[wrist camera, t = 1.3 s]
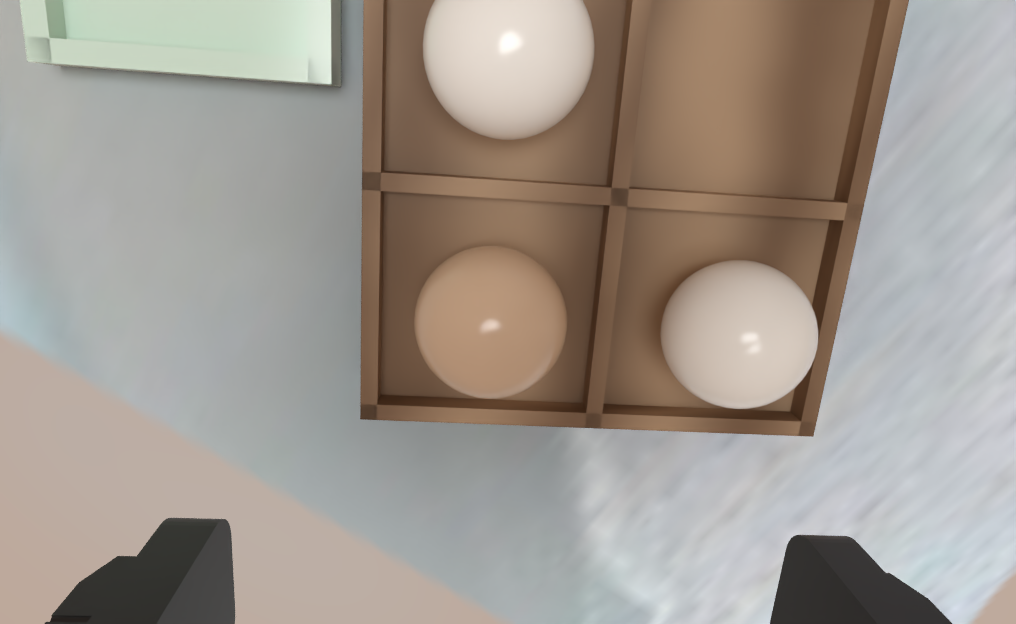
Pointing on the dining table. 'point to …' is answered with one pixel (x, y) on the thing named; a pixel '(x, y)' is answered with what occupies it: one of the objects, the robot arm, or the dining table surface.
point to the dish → (190, 37)
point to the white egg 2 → (739, 334)
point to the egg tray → (627, 197)
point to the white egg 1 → (508, 62)
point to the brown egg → (490, 322)
